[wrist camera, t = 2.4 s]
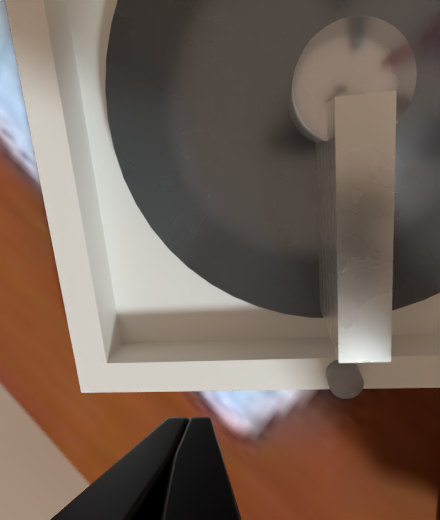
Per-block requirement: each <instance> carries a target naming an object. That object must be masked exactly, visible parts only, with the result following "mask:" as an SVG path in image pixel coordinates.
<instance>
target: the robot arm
mask: <svg viewBox="0 0 440 520" xmlns="http://www.w3.org/2000/svg"><path fill="white" fill-rule="evenodd" d="M51 520H241V516H240V513H239V510H238V506H237V503H236V500H235V496H234V493H233V490H232V486H231V483H230V480H229V476H228V473H227V470H226V466H225V463H224V460H223V456H222V453H221V450H220V447H219V443H218V440H217V437H216V433H215V430H214V427H213V423H212V420H211V418H209V417H192V418H190V420H189V418H187V417H170V418H168V419H166V420H165V421H164V422H163V423H162V424H160V425H159V426H158V427H157V428H156V429H155V430H153V431H152V432H151V433H150V434H149V435H148V436H147V437H145V438H144V439H143V440H142V441H141V442H140V443H138V444H137V445H136V446H135V447H134V448H133V449H132V450H130V451H129V452H128V453H127V454H126V455H125V456H123V457H122V458H121V459H120V460H119V461H118V462H116V463H115V464H114V465H113V466H112V467H111V468H110V469H108V470H107V471H106V472H105V473H104V474H103V475H101V476H100V477H99V478H98V479H97V480H96V481H95V482H93V483H92V484H91V485H90V486H89V487H88V488H86V489H85V490H84V491H83V492H82V493H81V494H80V495H78V496H77V497H76V498H75V499H74V500H73V501H71V502H70V503H69V504H68V505H67V506H66V507H64V509H62V510H61V511H60V512H59V513H58V514H56V515H55V516H54V517H53V518H52V519H51Z"/></svg>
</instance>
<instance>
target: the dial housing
mask: <svg viewBox="0 0 440 520" xmlns="http://www.w3.org/2000/svg"><path fill="white" fill-rule="evenodd" d="M5 4H6V9H7V14H8V19H9V24H10V29H11V35H12V40H13V45H14V50H15V55H16V60H17V65H18V70H19V76H20V81H21V86H22V91H23V96H24V101H25V106H26V111H27V117H28V122H29V127H30V132H31V137H32V142H33V147H34V152H35V158H36V163H37V168H38V173H39V178H40V183H41V188H42V193H43V199H44V204H45V209H46V214H47V219H48V224H49V229H50V234H51V240H52V245H53V250H54V255H55V260H56V265H57V270H58V275H59V280H60V286H61V291H62V296H63V301H64V306H65V311H66V316H67V321H68V327H69V332H70V337H71V342H72V347H73V352H74V357H75V362H76V368H77V373H78V378H79V383H80V388H81V393H95V392H165V391H235V390H306V389H330V390H331V392H332V393H333V394H334V395H335V396H337V397H339V398H343V399H349V398H353V397H355V396H357V395H358V394H359V393H360V392H361V391H362V389H376V388H440V293H438V294H436V295H434V296H432V297H429V298H427V299H425V300H423V301H420V302H417V303H414V304H411V305H408V306H405V307H402V308H399V309H396V310H392V333H391V362H368V363H338V360H337V357H336V354H335V351H334V348H333V345H332V342H331V339H330V336H329V333H328V330H327V327H326V325H325V322H324V319H323V318H309V317H302V316H296V315H289V314H283V313H279V312H276V311H272V310H268V309H264V308H261V307H257V306H255V305H253V304H250V303H248V302H245V301H243V300H240V299H238V298H235V297H233V296H231V295H229V294H228V293H226V292H224V291H222V290H221V289H219V288H217V287H215V286H213V285H212V284H210V283H209V282H207V281H206V280H204V279H203V278H202V277H200V276H199V275H198V274H196V273H195V272H194V271H192V270H191V269H189V268H188V267H187V266H186V265H185V264H184V263H183V262H182V261H181V260H180V259H179V258H178V257H177V256H175V255H174V254H173V253H172V252H171V251H170V250H169V249H168V248H167V246H166V245H165V244H164V243H163V242H162V240H161V239H160V238H159V237H158V236H157V234H156V233H155V232H154V231H153V229H152V228H151V227H150V225H149V224H148V222H147V221H146V219H145V217H144V216H143V214H142V213H141V211H140V210H139V208H138V206H137V205H136V203H135V201H134V199H133V197H132V195H131V193H130V190H129V188H128V186H127V184H126V182H125V180H124V178H123V175H122V172H121V169H120V166H119V163H118V160H117V157H116V154H115V151H114V147H113V142H112V137H111V132H110V128H109V123H108V115H107V103H106V92H105V81H106V55H107V48H108V41H109V35H110V28H111V22H112V19H113V15H114V11H115V8H116V4H117V0H5Z"/></svg>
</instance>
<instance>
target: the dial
mask: <svg viewBox="0 0 440 520" xmlns="http://www.w3.org/2000/svg"><path fill="white" fill-rule="evenodd" d="M105 92H106V103H107V115H108V123H109V128H110V132H111V137H112V142H113V147H114V151H115V154H116V157H117V160H118V163H119V166H120V169H121V172H122V175H123V178H124V180H125V182H126V184H127V186H128V188H129V190H130V193H131V195H132V197H133V199H134V201H135V203H136V205H137V206H138V208H139V210H140V211H141V213H142V214H143V216H144V217H145V219H146V221H147V222H148V224H149V225H150V227H151V228H152V229H153V231H154V232H155V233H156V234H157V236H158V237H159V238H160V239H161V240H162V242H163V243H164V244H165V245H166V246H167V248H168V249H169V250H170V251H171V252H172V253H173V254H174V255H175V256H177V257H178V258H179V259H180V260H181V261H182V262H183V263H184V264H185V265H186V266H187V267H188V268H189V269H191V270H192V271H194V272H195V273H196V274H198V275H199V276H200V277H202V278H203V279H204V280H206V281H207V282H209V283H210V284H212V285H213V286H215V287H217V288H219V289H221V290H222V291H224V292H226V293H228V294H229V295H231V296H233V297H235V298H238V299H240V300H243V301H245V302H248V303H250V304H253V305H255V306H257V307H261V308H264V309H268V310H272V311H276V312H279V313H283V314H289V315H296V316H302V317H309V318H323V319H324V322H325V325H326V327H327V330H328V333H329V336H330V339H331V342H332V345H333V348H334V351H335V354H336V357H337V360H338V363H368V362H391V333H392V310H396V309H399V308H402V307H405V306H408V305H411V304H414V303H417V302H420V301H423V300H425V299H427V298H429V297H432V296H434V295H436V294H438V293H440V0H117V4H116V8H115V11H114V15H113V19H112V22H111V28H110V35H109V41H108V48H107V55H106V81H105Z"/></svg>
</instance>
